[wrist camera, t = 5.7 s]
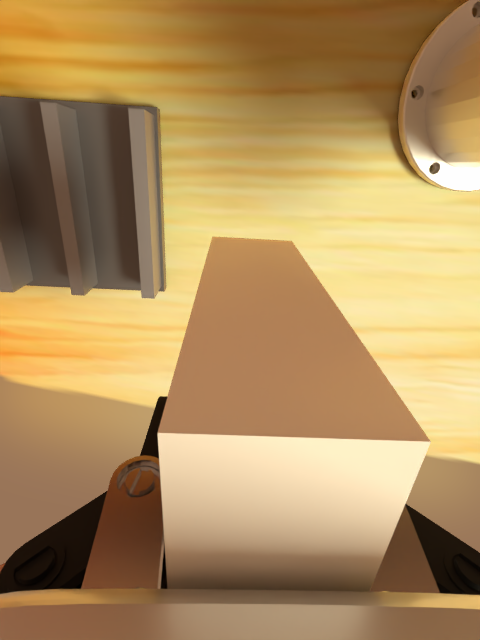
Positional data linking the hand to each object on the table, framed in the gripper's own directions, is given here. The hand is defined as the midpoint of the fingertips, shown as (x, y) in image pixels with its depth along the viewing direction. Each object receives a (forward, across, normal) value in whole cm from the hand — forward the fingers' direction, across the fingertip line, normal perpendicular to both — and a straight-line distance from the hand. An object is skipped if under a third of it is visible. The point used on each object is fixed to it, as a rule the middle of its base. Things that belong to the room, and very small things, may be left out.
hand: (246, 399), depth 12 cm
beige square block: (+3, 0, 0) cm, 3 cm away
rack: (+20, +16, -4) cm, 25 cm away
